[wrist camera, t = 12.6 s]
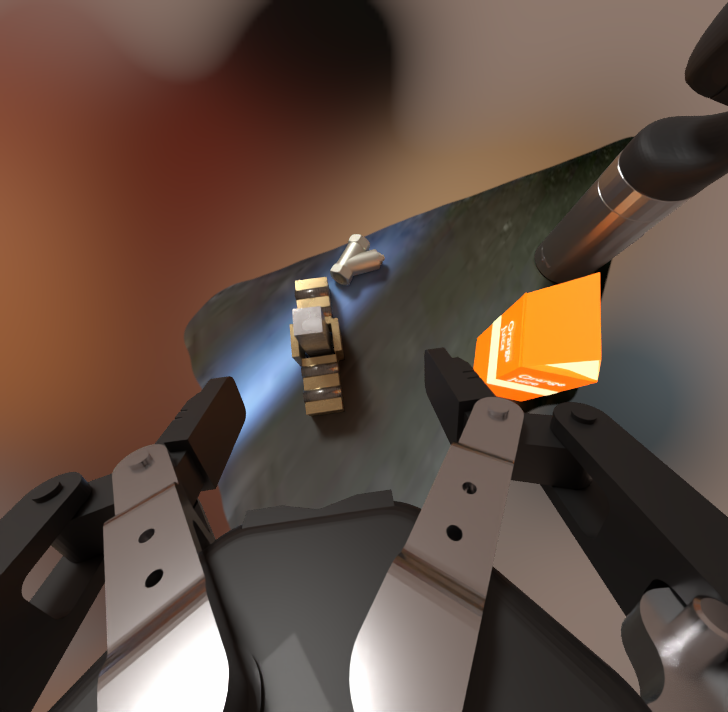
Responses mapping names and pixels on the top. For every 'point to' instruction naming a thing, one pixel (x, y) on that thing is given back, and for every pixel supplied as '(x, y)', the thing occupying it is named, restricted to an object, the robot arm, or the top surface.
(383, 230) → the top surface
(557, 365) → the orange juice
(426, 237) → the top surface
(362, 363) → the top surface
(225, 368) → the top surface
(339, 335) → the gold block with rollers
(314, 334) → the square grey block
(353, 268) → the pipe fitting
